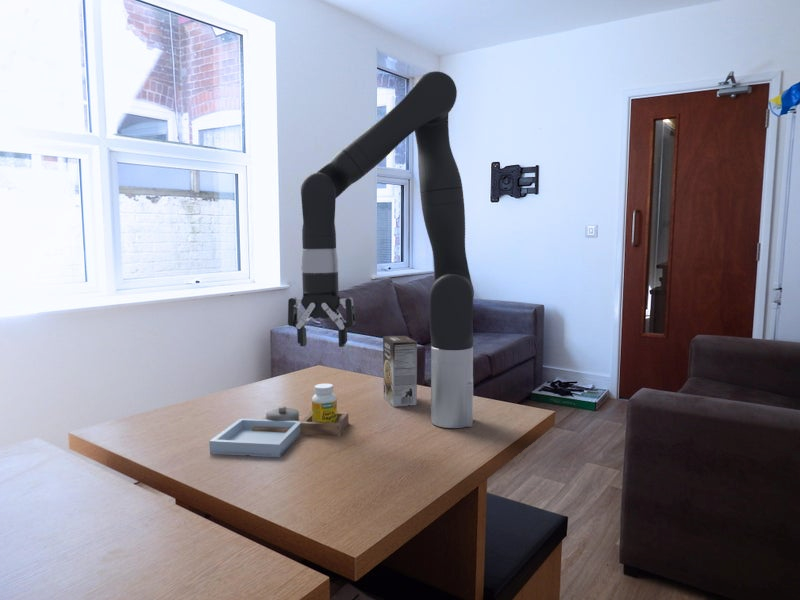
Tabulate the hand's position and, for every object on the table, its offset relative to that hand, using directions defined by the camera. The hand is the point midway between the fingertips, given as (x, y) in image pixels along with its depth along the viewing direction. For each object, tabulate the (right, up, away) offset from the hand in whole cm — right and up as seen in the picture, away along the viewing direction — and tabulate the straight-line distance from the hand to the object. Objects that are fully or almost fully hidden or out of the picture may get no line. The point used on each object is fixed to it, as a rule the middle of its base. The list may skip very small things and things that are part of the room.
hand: (322, 346), depth 123 cm
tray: (-12, -19, -7) cm, 23 cm away
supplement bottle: (0, -18, +2) cm, 18 cm away
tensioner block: (-5, -18, +2) cm, 19 cm away
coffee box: (+17, -16, +22) cm, 32 cm away
